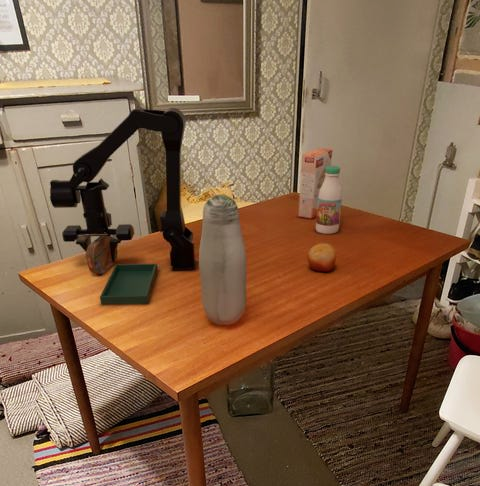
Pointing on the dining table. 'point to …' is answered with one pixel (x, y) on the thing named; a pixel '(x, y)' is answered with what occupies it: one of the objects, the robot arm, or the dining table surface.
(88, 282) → the dining table surface
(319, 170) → the cracker box
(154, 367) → the dining table surface
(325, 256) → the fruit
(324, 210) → the milk bottle
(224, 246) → the glass bottle
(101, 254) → the tin
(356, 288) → the dining table surface
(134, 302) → the tray
